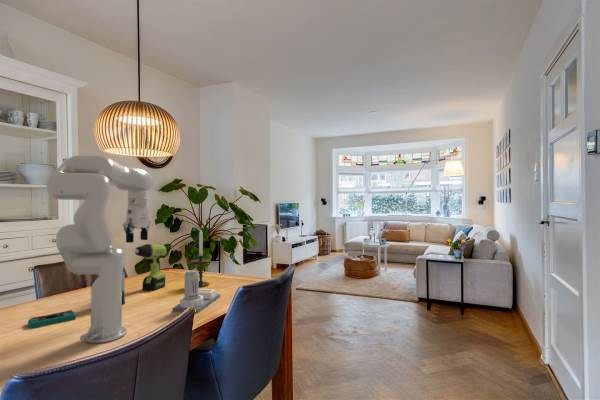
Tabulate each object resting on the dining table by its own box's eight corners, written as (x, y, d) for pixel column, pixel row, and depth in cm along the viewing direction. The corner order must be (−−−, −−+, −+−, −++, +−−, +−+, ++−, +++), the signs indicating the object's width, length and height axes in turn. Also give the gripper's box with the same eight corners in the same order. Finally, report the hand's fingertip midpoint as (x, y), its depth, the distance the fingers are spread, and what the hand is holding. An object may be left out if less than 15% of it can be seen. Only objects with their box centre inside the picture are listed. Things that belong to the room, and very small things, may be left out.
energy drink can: (190, 307, 144) (190, 273, 144) (181, 305, 147) (181, 271, 147) (201, 303, 149) (201, 270, 149) (192, 301, 152) (192, 269, 152)
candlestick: (213, 283, 192) (213, 223, 193) (206, 288, 182) (206, 224, 182) (195, 282, 194) (195, 223, 194) (187, 287, 183) (187, 224, 183)
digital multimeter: (27, 325, 128) (27, 317, 128) (72, 315, 139) (72, 308, 139) (29, 330, 123) (29, 322, 123) (76, 320, 133) (76, 313, 133)
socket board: (198, 312, 141) (198, 302, 141) (172, 311, 143) (172, 301, 143) (220, 296, 165) (220, 287, 165) (197, 295, 167) (197, 287, 167)
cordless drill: (139, 296, 165) (139, 247, 165) (127, 295, 167) (127, 246, 167) (167, 285, 188) (168, 241, 188) (157, 284, 189) (157, 241, 190)
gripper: (132, 202, 137) (131, 243, 137) (156, 202, 154) (156, 239, 154) (115, 202, 138) (115, 243, 138) (141, 202, 155) (141, 238, 155)
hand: (137, 241), depth 146 cm, fingers open, 9 cm apart
